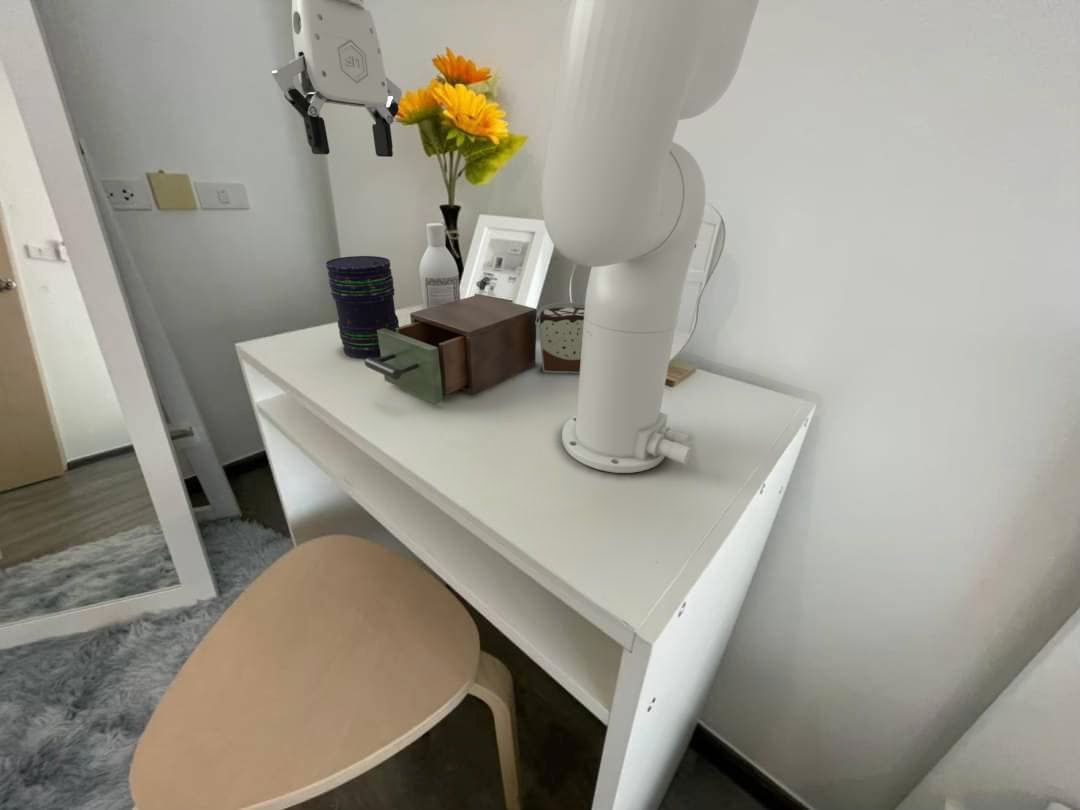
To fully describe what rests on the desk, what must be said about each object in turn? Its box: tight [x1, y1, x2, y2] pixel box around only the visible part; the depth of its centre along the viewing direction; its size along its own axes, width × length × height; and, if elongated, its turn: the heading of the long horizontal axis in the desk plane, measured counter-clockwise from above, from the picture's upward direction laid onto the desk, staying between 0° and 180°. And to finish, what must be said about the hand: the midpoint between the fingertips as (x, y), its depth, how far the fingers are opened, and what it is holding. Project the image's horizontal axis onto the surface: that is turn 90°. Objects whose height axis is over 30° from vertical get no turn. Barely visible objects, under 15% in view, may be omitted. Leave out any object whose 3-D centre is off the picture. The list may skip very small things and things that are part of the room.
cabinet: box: [409, 294, 538, 396], centre depth 69 cm, size 15×13×10 cm
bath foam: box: [418, 222, 461, 310], centre depth 80 cm, size 7×7×20 cm
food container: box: [535, 302, 585, 375], centre depth 71 cm, size 12×6×10 cm, turn 88°
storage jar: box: [325, 255, 400, 360], centre depth 74 cm, size 10×10×15 cm
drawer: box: [364, 321, 469, 405], centre depth 63 cm, size 18×11×8 cm, turn 142°
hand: (354, 155), depth 60 cm, fingers open, 9 cm apart
